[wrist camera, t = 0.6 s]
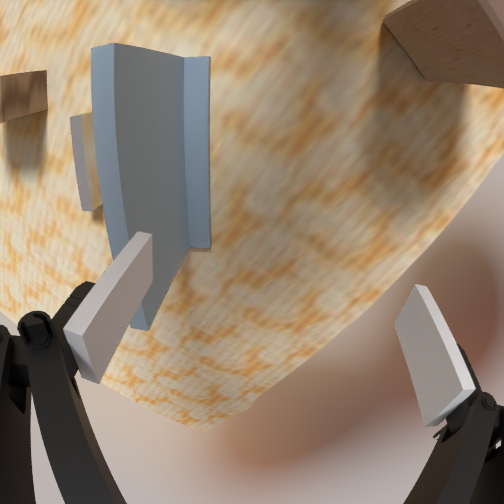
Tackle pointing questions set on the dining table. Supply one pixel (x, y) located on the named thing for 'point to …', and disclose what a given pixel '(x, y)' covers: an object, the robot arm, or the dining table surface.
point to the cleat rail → (85, 161)
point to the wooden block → (453, 39)
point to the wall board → (153, 156)
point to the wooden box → (22, 94)
